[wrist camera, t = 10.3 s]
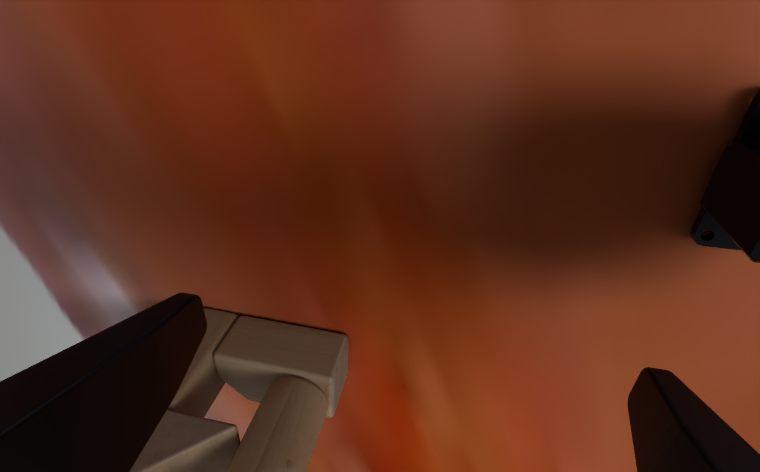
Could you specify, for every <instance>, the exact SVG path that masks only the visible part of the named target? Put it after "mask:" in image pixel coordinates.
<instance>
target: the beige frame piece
mask: <svg viewBox="0 0 760 472" xmlns="http://www.w3.org/2000/svg"><path fill="white" fill-rule="evenodd" d="M204 312H205V316H206V320H207V330H206V333H205V335H204V338H203V340H202V342H201V344H200V346H199V348H198V350H197V352H196V354H195V356H194V359H193V361H192V363H191V365H190V367H189V369H188V371H187V373H186V375H185V377H184V380H183V382H182V384H181V386H180V388H179V390H178V392H177V394H176V395H175V397H174V399H173V401H172V402H171V404H170V406H169V408H168V409H167V411H166V412H165V414H164V416H163V417H162V419H161V421H160V422H159V424H158V426H157V427H156V429H155V431H154V432H153V434H152V436H151V437H150V439H149V440H148V442H147V444H146V445H145V447H144V449H143V450H142V452H141V454H140V455H139V457H138V459H137V460H136V462H135V464H134V465H133V467H132V468H131V470H130V472H307V469H308V466H309V463H310V460H311V457H312V454H313V452H314V449H315V446H316V443H317V440H318V437H319V434H320V431H321V428H322V426H323V423H324V420H325V417H332V416H333V415H334V414H335V411H336V408H337V405H338V402H339V399H340V396H341V393H342V390H343V387H344V384H345V381H346V378H347V375H348V341H349V340H348V336H347V335H345V334H340V333H335V332H330V331H324V330H319V329H314V328H308V327H303V326H297V325H292V324H287V323H281V322H276V321H270V320H265V319H260V318H254V317H249V316H240V317H238V315H237V314H235V313H230V312H225V311H219V310H214V309H209V308H204ZM225 382H226V383H227V384H229V385H230V386H231V387H233V388H234V389H235V390H236V391H238V392H239V393H240V394H241V395H243V396H244V397H245V398H247V399H249V400H251V401H255V402H260V405H259V407H258V409H257V411H256V413H255V415H254V417H253V419H252V421H251V423H250V425H249V427H248V429H247V431H246V433H245V435H244V437H243V439H242V441H241V443H240V439H239V434H238V430H237V426H236V425H234V424H229V423H225V422H220V421H216V420H211V419H207V418H204V416H205V415H206V413H207V411H208V410H209V408H210V407H211V405H212V403H213V402H214V400H215V398H216V397H217V395H218V394H219V392H220V390H221V389H222V387H223V385H224V384H225Z"/></svg>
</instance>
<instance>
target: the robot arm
mask: <svg viewBox="0 0 760 472" xmlns="http://www.w3.org/2000/svg"><path fill="white" fill-rule="evenodd" d="M700 203H701V205H702V207H701V209H700V211H699V214H698V216H697V218H696V220H695V222H694V224H693V226H692V228H691V231H690V235H691V237H692V239H693V240H694V241H695V242H696V243H697V244H698V245H702V246H709V247H718V248H727V249H736V250H742V251H743V252H744V253H745V254H746V255H747V256H748V257H749V259H750V260H751V261H753V262H757V263H760V92H759V93H757V94H756V96H755V97H754V99H753V100H752V102H751V105H750V107H749V109H748V111H747V113H746V115H745V117H744V119H743V121H742V123H741V126H740V128H739V130H738V132H737V134H736V136H735V138H734V140H733V142H732V143H731V144H729V145H728V146H727V147H726V148H725V150H724V152H723V155H722V157H721V159H720V161H719V163H718V165H717V167H716V169H715V172H714V174H713V176H712V178H711V180H710V182H709V184H708V186H707V189H706V191H705V193H704V195H703V197H702V199H701V202H700ZM705 231H710V233H709V234H708V235H705V236H701V235H702V233H703V232H705ZM206 330H207V320H206V316H205V312H204V308H203V304H202V301H201V298H200V297H199V296H198V295H195V294H189V293H178V294H176V295H174V296H172V297H170V298H168V299H166V300H164V301H162V302H160V303H158V304H156V305H154V306H151V307H149V308H147V309H145V310H143V311H141V312H139V313H137V314H135V315H133V316H131V317H129V318H127V319H125V320H123V321H121V322H119V323H117V324H115V325H113V326H111V327H109V328H107V329H105V330H103V331H101V332H99V333H97V334H95V335H93V336H91V337H89V338H87V339H85V340H83V341H81V342H79V343H77V344H75V345H73V346H71V347H69V348H67V349H65V350H63V351H61V352H59V353H57V354H55V355H53V356H51V357H49V358H47V359H45V360H43V361H41V362H39V363H37V364H35V365H33V366H31V367H29V368H27V369H25V370H23V371H21V372H19V373H17V374H15V375H13V376H11V377H9V378H7V379H5V380H3V381H1V382H0V472H130V470H131V468H132V467H133V465H134V464H135V462H136V460H137V459H138V457H139V455H140V454H141V452H142V450H143V449H144V447H145V445H146V444H147V442H148V440H149V439H150V437H151V436H152V434H153V432H154V431H155V429H156V427H157V426H158V424H159V422H160V421H161V419H162V417H163V416H164V414H165V412H166V411H167V409H168V408H169V406H170V404H171V402H172V401H173V399H174V397H175V395H176V394H177V392H178V390H179V388H180V386H181V384H182V382H183V380H184V377H185V375H186V373H187V371H188V369H189V367H190V365H191V363H192V361H193V359H194V356H195V354H196V352H197V350H198V348H199V346H200V344H201V342H202V340H203V338H204V335H205V333H206ZM628 412H629V419H630V425H631V432H632V439H633V445H634V452H635V459H636V466H637V472H760V454H759V453H758V452H756V451H755V450H754V449H753V448H752V447H751V446H750V445H749V444H748V443H747V442H746V441H745V440H744V439H743V438H742V437H740V436H739V435H738V434H737V433H736V432H735V431H734V430H733V429H732V428H731V427H730V426H729V425H728V424H727V423H726V422H724V421H723V420H722V419H721V418H720V417H719V416H718V415H717V414H716V413H715V412H714V411H713V410H712V409H711V408H710V407H708V406H707V405H706V404H705V403H704V402H703V401H702V400H701V399H700V398H699V397H698V396H697V395H696V394H695V393H694V392H692V391H691V390H690V389H689V388H688V387H687V386H686V385H685V384H684V383H683V382H682V381H681V380H680V379H679V378H678V377H676V376H675V375H674V374H673V373H672V372H670V371H668V370H663V369H657V368H650V367H647V368H644V369H643V370H642V371H641V373H640V375H639V376H638V378H637V380H636V382H635V384H634V386H633V388H632V390H631V392H630V394H629V397H628Z"/></svg>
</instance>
